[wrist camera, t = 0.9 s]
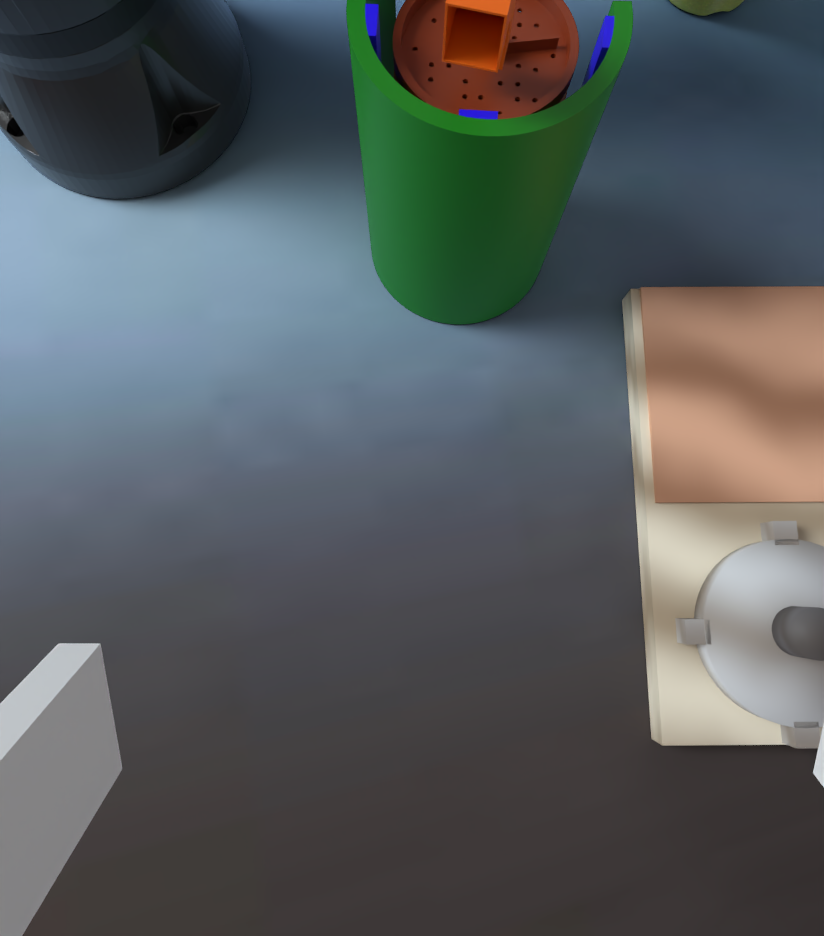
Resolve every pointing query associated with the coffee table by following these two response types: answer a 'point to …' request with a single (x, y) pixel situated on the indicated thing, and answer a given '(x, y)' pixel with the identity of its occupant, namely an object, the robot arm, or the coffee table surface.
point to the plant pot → (706, 6)
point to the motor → (472, 141)
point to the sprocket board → (730, 509)
